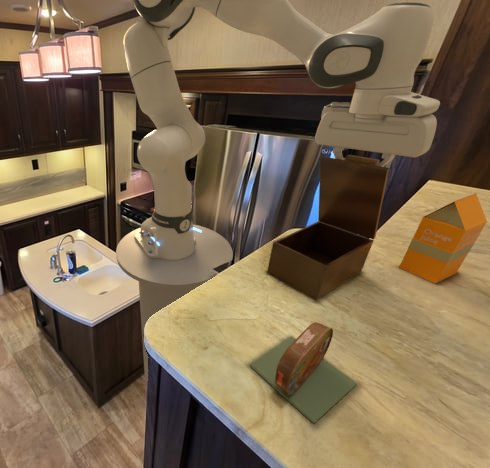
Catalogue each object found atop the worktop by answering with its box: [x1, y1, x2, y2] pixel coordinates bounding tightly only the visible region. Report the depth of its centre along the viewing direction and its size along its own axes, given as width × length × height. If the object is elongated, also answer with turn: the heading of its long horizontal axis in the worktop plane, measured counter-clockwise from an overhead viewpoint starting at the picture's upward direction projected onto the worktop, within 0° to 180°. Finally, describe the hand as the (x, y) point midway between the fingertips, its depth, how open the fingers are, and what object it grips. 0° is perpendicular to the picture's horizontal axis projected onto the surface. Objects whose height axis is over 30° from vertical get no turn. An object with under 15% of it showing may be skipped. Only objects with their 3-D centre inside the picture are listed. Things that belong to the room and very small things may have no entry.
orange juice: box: [398, 193, 488, 284], centre depth 68 cm, size 8×9×20 cm
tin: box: [275, 321, 334, 395], centre depth 49 cm, size 15×3×8 cm, turn 126°
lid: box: [318, 154, 390, 240], centre depth 69 cm, size 20×13×5 cm
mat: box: [249, 336, 358, 425], centre depth 51 cm, size 12×12×1 cm
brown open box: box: [266, 220, 375, 301], centre depth 73 cm, size 19×13×10 cm
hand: (357, 169), depth 65 cm, fingers closed on lid, 6 cm apart
